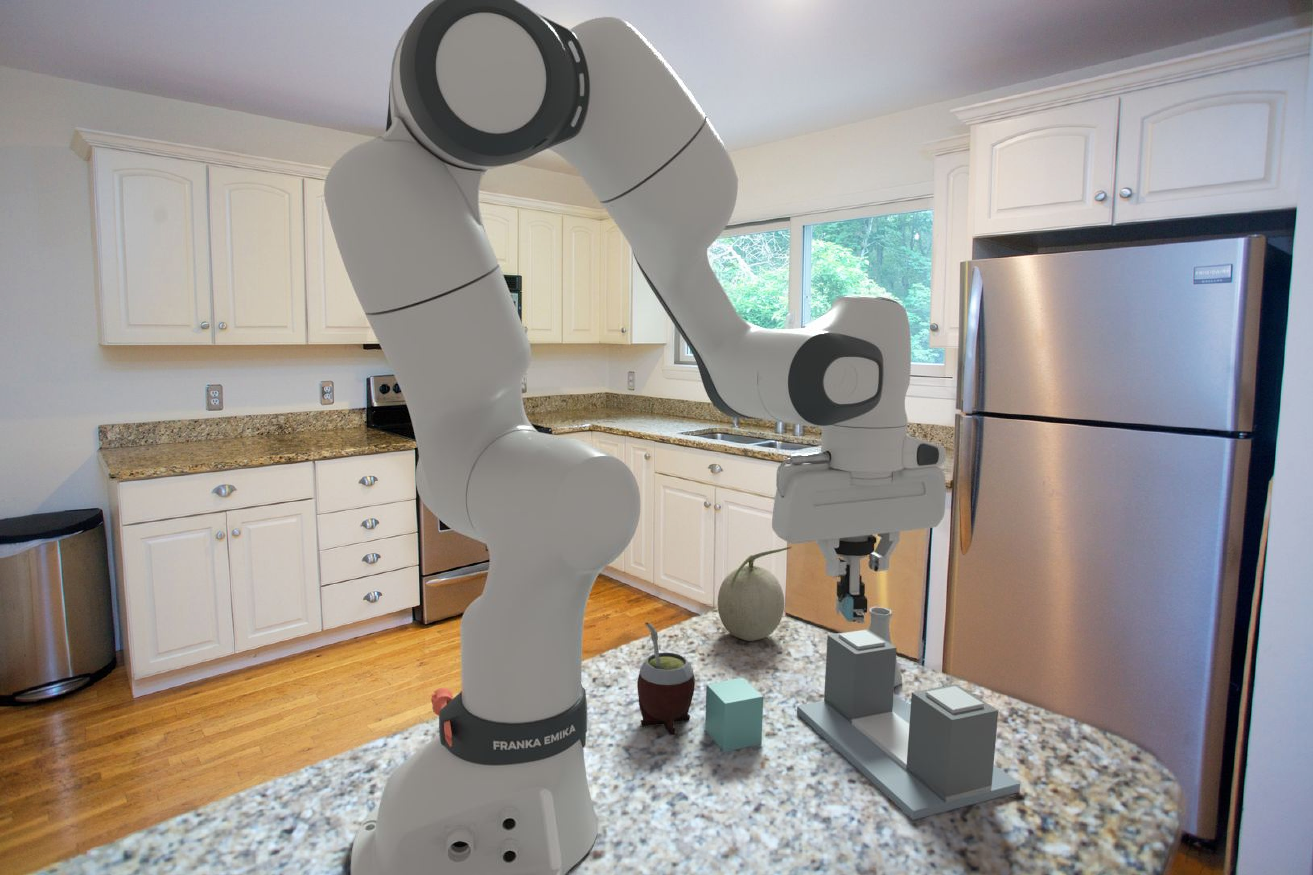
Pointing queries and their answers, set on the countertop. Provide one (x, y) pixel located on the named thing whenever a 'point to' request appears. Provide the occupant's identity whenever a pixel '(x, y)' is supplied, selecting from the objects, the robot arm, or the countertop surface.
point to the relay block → (734, 714)
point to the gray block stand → (906, 731)
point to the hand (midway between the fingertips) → (857, 572)
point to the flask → (883, 632)
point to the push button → (853, 577)
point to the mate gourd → (665, 688)
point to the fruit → (751, 600)
